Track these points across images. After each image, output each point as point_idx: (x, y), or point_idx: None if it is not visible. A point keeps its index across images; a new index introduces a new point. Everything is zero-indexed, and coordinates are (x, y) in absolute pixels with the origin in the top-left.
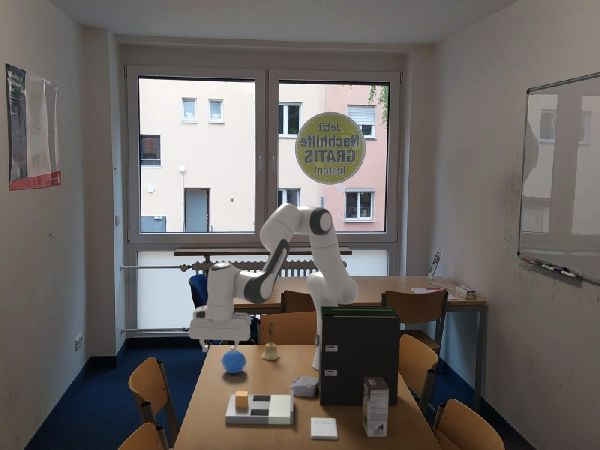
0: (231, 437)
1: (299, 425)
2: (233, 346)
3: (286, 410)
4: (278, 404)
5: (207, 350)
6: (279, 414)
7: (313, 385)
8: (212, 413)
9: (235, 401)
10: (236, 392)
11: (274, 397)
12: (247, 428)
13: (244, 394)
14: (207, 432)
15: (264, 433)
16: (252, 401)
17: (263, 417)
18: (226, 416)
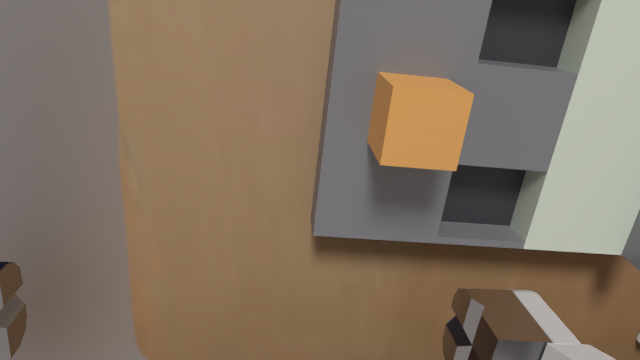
0: (338, 326)
1: None
2: (533, 341)
3: (628, 190)
4: (612, 117)
5: (14, 293)
6: (580, 230)
7: None
8: (238, 109)
9: (374, 152)
10: (391, 111)
11: (621, 16)
12: (409, 262)
13: (441, 147)
14: (235, 289)
15: None
16: (475, 67)
17: (497, 245)
18: (318, 234)
